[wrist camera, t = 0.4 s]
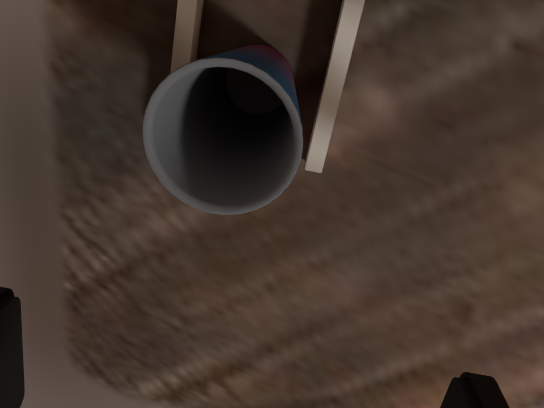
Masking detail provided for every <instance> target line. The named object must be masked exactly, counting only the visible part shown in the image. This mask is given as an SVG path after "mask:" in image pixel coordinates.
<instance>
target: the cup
mask: <svg viewBox="0 0 544 408" xmlns="http://www.w3.org/2000/svg"><path fill="white" fill-rule="evenodd" d="M143 143H144V148H145V152H146V156H147V158H148V161H149V163H150V165H151V168H152V170H153V171H154V173H155V174H156V176H157V177H158V179H159V180H160V182H161V183H162V184H163V185H164V186H165V187H166V188H167V189H168V190H169V191H170V192H171V194H173V195H174V196H176V197H177V198H178V199H180V200H181V201H182V202H184V203H186V204H188V205H190V206H192V207H194V208H196V209H199V210H202V211H206V212H209V213H214V214H223V215H231V214H242V213H246V212H250V211H253V210H256V209H258V208H260V207H263V206H265V205H267V204H269V203H270V202H271V201H273V200H274V199H275V198H277V197H278V196H279V195H280V194H281V193H282V192H283V191H284V190H285V189H286V188H287V186H288V185H289V184H290V182H291V181H292V179H293V177H294V176H295V174H296V172H297V170H298V167H299V164H300V160H301V157H302V149H303V132H302V124H301V118H300V112H299V106H298V101H297V95H296V89H295V83H294V78H293V73H292V69H291V67H290V65H289V63H288V61H287V60H286V58H285V57H284V56H283V55H282V54H281V53H280V52H279V51H277V50H275V49H274V48H272V47H269V46H266V45H260V44H254V45H248V46H245V47H241V48H238V49H234V50H231V51H227V52H223V53H220V54H216V55H213V56H209V57H206V58H202V59H199V60H196V61H193V62H190V63H187V64H185V65H183V66H181V67H180V68H178V69H176V70H174V71H173V72H171V73H170V74H169V75H168V76H167V77H166V78H165V79H164V80H163V81H162V82H161V83H160V84H159V85H158V87H157V88H156V90H155V91H154V92H153V94H152V95H151V97H150V100H149V102H148V105H147V107H146V110H145V115H144V120H143Z"/></svg>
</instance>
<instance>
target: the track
mask: <svg viewBox="0 0 544 408" xmlns="http://www.w3.org/2000/svg"><path fill="white" fill-rule="evenodd" d="M203 1H204V0H178V4H177V14H176V24H175V33H174V43H173V53H172V62H171V72H173V71H174V70H176V69H178V68H180V67H181V66H183V65H185V64H187V63H190V62H193V61H196V57H197V49H198V41H199V33H200V25H201V17H202V9H203ZM364 2H365V0H343V1H342V5H341V10H340V14H339V18H338V22H337V27H336V31H335V35H334V40H333V44H332V48H331V52H330V57H329V61H328V65H327V69H326V74H325V78H324V82H323V87H322V91H321V95H320V99H319V104H318V108H317V112H316V117H315V121H314V125H313V129H312V134H311V138H310V142H309V146H308V151H307V155H306V159H305V170H308V171H313V172H318V173H322V169H323V165H324V161H325V157H326V153H327V149H328V145H329V141H330V137H331V133H332V129H333V125H334V121H335V117H336V113H337V109H338V105H339V101H340V97H341V93H342V89H343V85H344V81H345V77H346V73H347V69H348V66H349V62H350V58H351V54H352V50H353V46H354V42H355V38H356V34H357V30H358V26H359V22H360V18H361V14H362V10H363V6H364ZM171 72H170V73H171Z"/></svg>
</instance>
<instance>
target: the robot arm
mask: <svg viewBox="0 0 544 408" xmlns="http://www.w3.org/2000/svg"><path fill="white" fill-rule="evenodd" d="M23 398H24V368H23V346H22V325H21V303H20V299H19V298H18V297H14V293H13V291H12V290H11V289H9V288H4V287H0V408H20V406H21V404H22V401H23ZM440 408H509V406H508V404H507V402H506V400H505V398H504V396H503V394H502V392H501V390H500V388H499V386H498V384H497V382H496V380H495V379H494V378H493V377H491V376H485V375H480V374H474V373H469V372H464V373H462V374H461V376H460V378H457V377H454V378H453V379H452V381H451V383H450V385H449V388H448V390H447V392H446V395H445V397H444V400H443V402H442V405H441V407H440Z"/></svg>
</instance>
